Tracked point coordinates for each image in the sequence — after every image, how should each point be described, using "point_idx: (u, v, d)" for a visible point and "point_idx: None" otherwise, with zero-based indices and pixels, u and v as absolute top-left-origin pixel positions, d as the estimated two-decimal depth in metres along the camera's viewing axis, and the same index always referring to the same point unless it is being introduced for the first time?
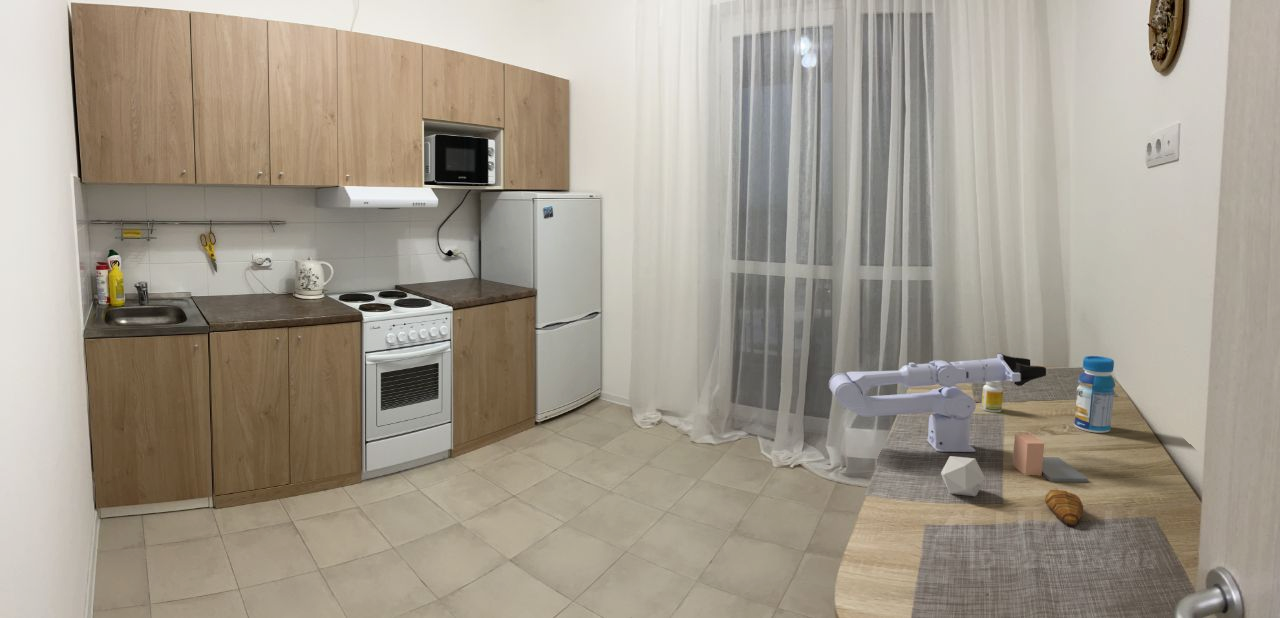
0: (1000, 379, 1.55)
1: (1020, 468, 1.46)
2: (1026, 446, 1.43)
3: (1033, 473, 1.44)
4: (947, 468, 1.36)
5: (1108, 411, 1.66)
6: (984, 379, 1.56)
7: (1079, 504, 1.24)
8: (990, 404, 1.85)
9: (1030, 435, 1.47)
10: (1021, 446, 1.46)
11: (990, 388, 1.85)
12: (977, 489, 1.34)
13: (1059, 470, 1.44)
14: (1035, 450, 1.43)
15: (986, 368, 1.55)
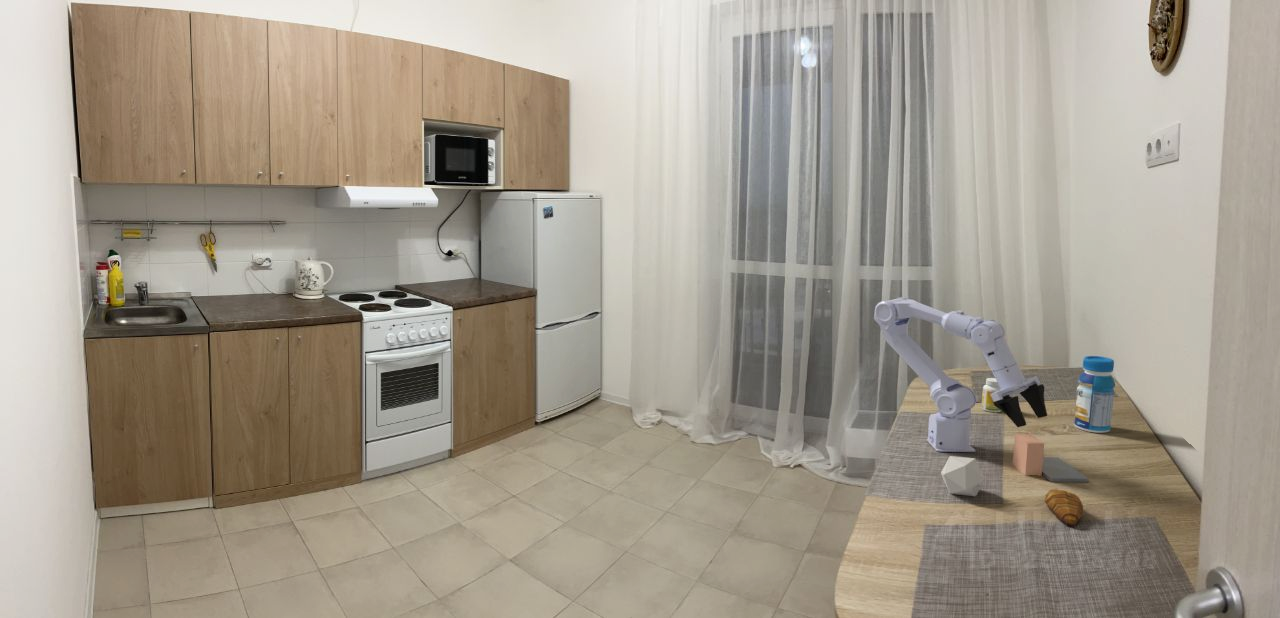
0: (1000, 387, 1.49)
1: (1020, 468, 1.46)
2: (1026, 446, 1.43)
3: (1033, 473, 1.44)
4: (947, 468, 1.36)
5: (1108, 411, 1.66)
6: (993, 372, 1.49)
7: (1079, 504, 1.24)
8: (990, 404, 1.85)
9: (1030, 435, 1.47)
10: (1021, 446, 1.46)
11: (990, 388, 1.85)
12: (977, 489, 1.34)
13: (1059, 470, 1.44)
14: (1035, 450, 1.43)
15: (1003, 370, 1.47)
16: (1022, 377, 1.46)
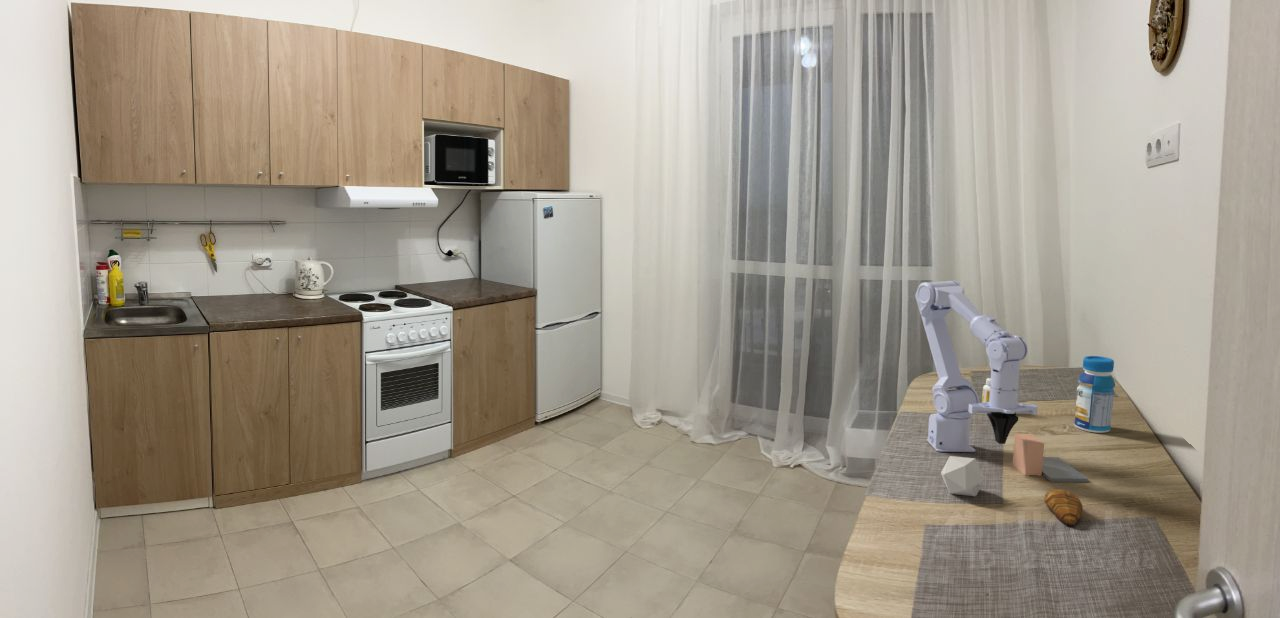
0: None
1: (1020, 468, 1.46)
2: (1026, 446, 1.43)
3: (1033, 473, 1.44)
4: (947, 468, 1.36)
5: (1108, 411, 1.66)
6: None
7: (1078, 504, 1.24)
8: None
9: (1030, 435, 1.47)
10: (1021, 446, 1.46)
11: None
12: (977, 489, 1.34)
13: (1059, 470, 1.44)
14: (1035, 450, 1.43)
15: (995, 390, 1.43)
16: (1010, 404, 1.42)
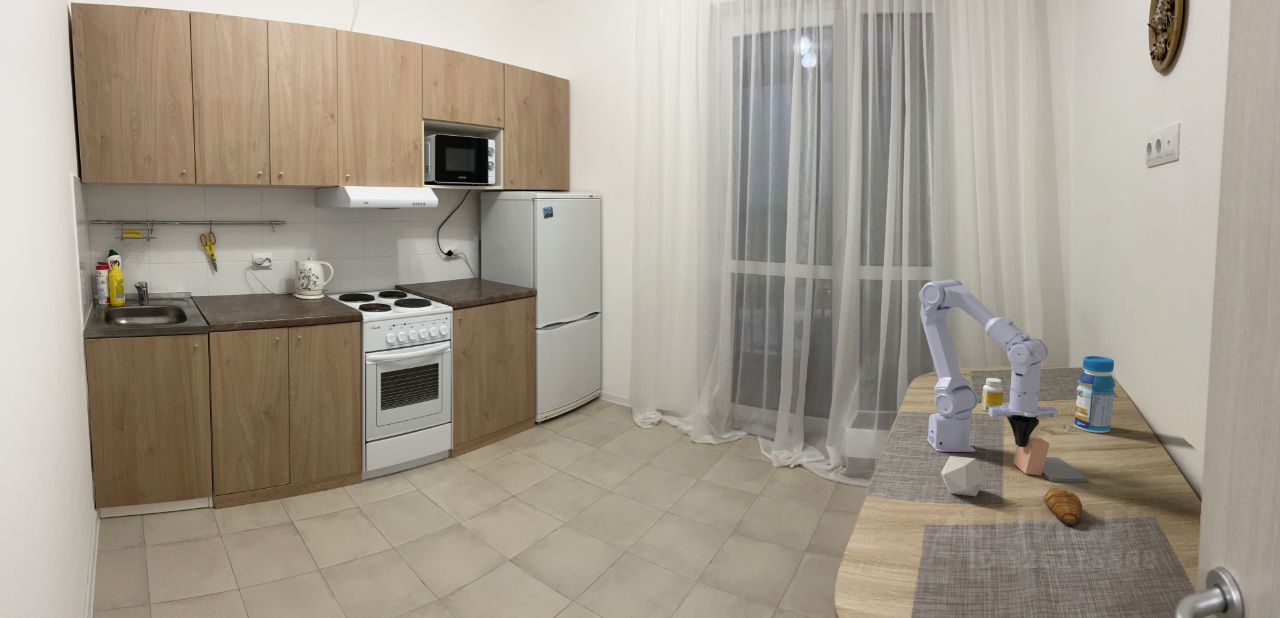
0: None
1: (1021, 466, 1.46)
2: (1031, 444, 1.43)
3: (1034, 472, 1.44)
4: (947, 468, 1.36)
5: (1108, 411, 1.66)
6: None
7: (1078, 503, 1.24)
8: (990, 404, 1.85)
9: (1035, 435, 1.47)
10: None
11: (990, 388, 1.85)
12: (977, 489, 1.34)
13: (1059, 470, 1.44)
14: (1039, 449, 1.43)
15: (1015, 394, 1.43)
16: (1031, 408, 1.41)
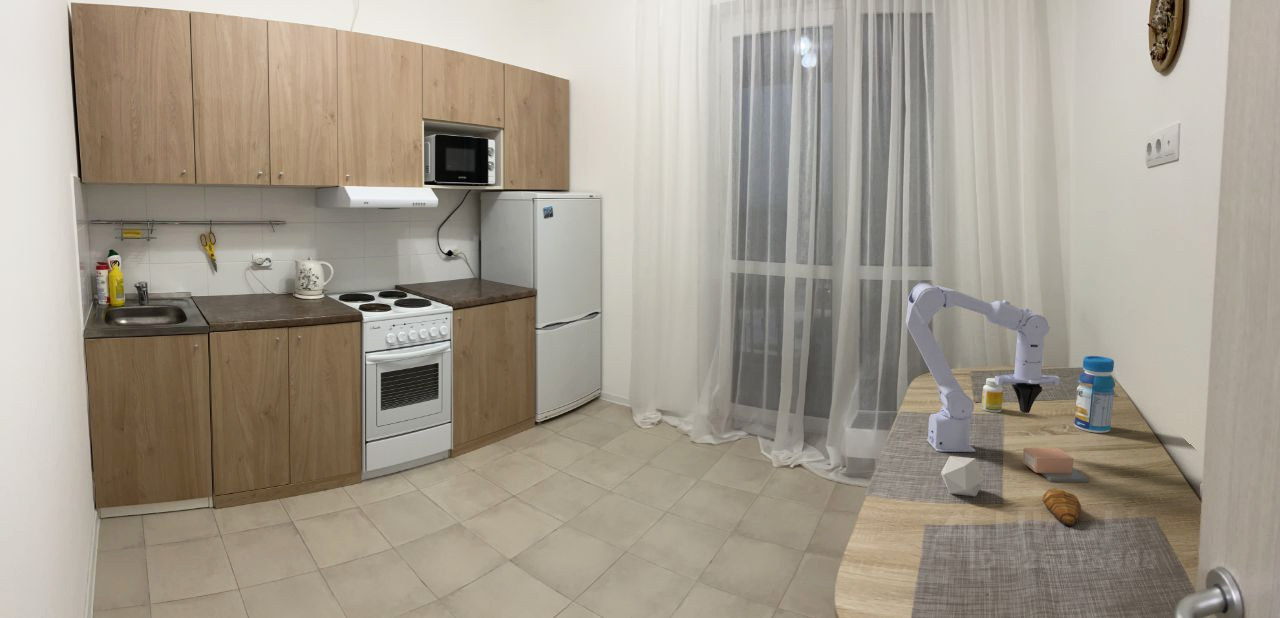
0: None
1: (1035, 454, 1.45)
2: (1068, 457, 1.43)
3: (1039, 465, 1.43)
4: (947, 468, 1.36)
5: (1108, 411, 1.66)
6: None
7: (1077, 504, 1.25)
8: (990, 404, 1.85)
9: None
10: (1058, 453, 1.45)
11: (990, 388, 1.85)
12: (977, 489, 1.34)
13: None
14: (1065, 465, 1.43)
15: (1020, 362, 1.53)
16: (1035, 375, 1.52)
